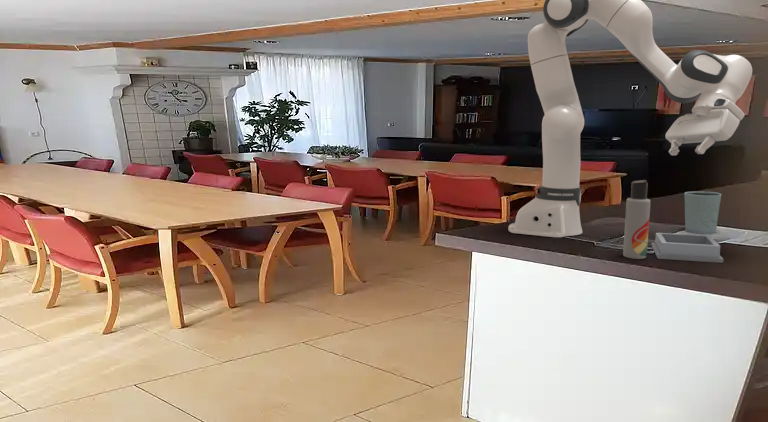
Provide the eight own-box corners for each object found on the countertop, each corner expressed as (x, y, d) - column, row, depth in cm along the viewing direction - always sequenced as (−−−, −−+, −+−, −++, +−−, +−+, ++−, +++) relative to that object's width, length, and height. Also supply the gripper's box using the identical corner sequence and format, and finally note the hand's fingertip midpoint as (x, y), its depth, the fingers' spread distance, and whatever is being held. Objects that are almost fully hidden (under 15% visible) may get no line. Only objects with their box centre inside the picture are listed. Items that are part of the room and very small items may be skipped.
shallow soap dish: (657, 258, 155) (658, 243, 155) (651, 245, 169) (652, 231, 169) (723, 262, 151) (724, 247, 150) (711, 249, 165) (712, 235, 164)
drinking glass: (721, 235, 183) (724, 196, 181) (684, 233, 186) (687, 194, 184) (713, 228, 192) (717, 191, 190) (679, 227, 195) (681, 190, 193)
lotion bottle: (650, 259, 155) (656, 181, 151) (628, 259, 154) (633, 181, 151) (640, 253, 160) (645, 178, 157) (619, 254, 160) (624, 179, 157)
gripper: (675, 108, 170) (650, 148, 169) (734, 99, 150) (706, 144, 149) (690, 121, 172) (665, 161, 170) (750, 114, 152) (723, 159, 150)
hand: (685, 153), depth 159 cm, fingers open, 8 cm apart
